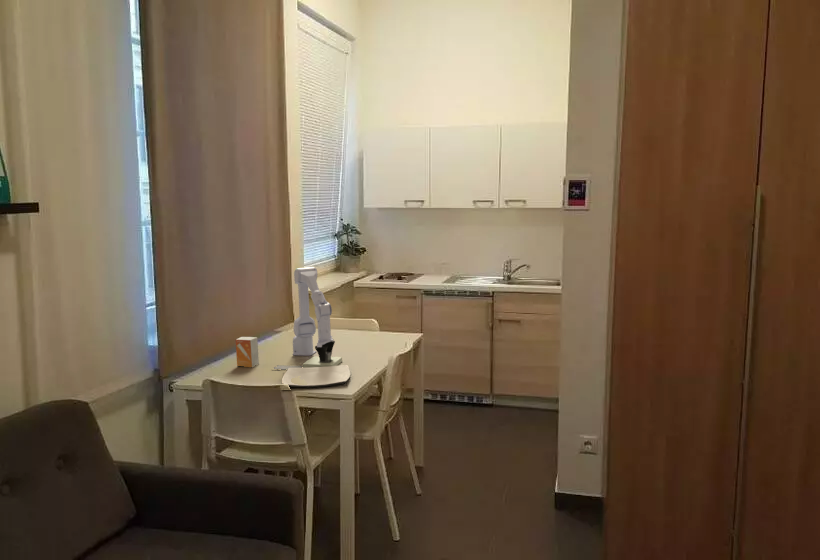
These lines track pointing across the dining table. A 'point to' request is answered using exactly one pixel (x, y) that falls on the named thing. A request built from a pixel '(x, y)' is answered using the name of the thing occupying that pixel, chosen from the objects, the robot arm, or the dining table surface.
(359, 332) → the dining table surface
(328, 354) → the charger
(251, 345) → the small box
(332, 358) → the outlet board
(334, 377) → the plate
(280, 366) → the phone
